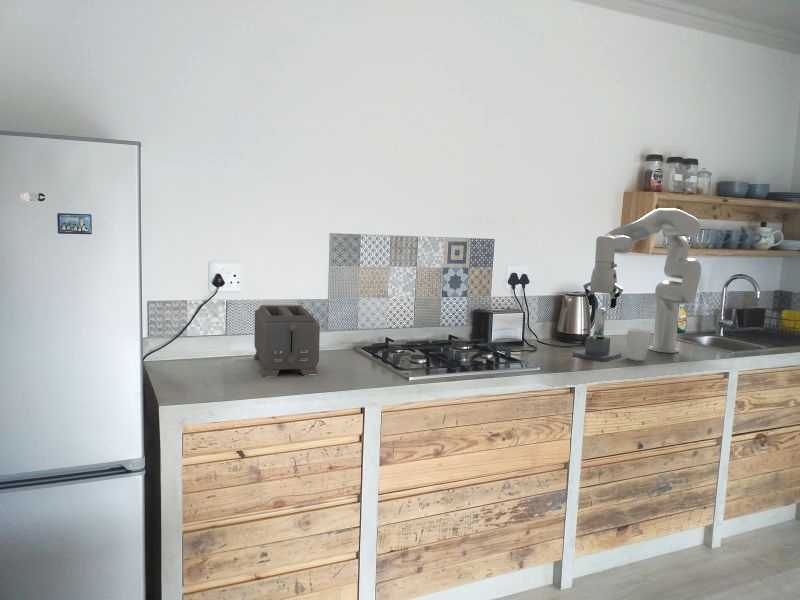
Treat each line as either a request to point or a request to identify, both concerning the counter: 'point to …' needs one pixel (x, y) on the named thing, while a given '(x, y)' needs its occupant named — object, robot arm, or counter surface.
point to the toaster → (286, 339)
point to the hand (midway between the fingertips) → (601, 306)
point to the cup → (637, 343)
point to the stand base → (597, 350)
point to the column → (599, 323)
